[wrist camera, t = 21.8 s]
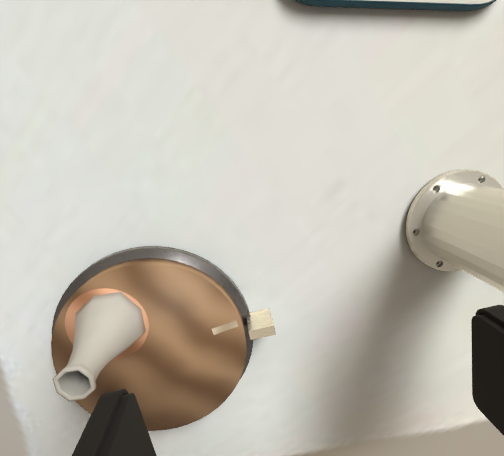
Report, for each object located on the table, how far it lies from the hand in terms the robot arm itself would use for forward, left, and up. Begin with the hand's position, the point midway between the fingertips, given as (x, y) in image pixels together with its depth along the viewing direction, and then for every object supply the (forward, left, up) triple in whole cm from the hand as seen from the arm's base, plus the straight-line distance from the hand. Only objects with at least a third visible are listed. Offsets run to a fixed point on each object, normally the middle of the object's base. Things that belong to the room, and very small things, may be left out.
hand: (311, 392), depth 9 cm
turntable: (+14, +15, -29) cm, 36 cm away
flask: (+17, +10, -27) cm, 33 cm away
